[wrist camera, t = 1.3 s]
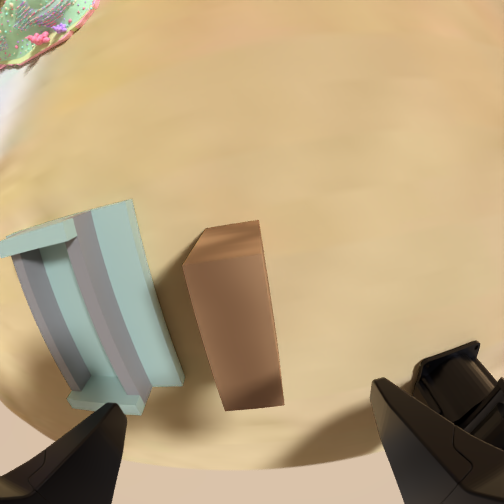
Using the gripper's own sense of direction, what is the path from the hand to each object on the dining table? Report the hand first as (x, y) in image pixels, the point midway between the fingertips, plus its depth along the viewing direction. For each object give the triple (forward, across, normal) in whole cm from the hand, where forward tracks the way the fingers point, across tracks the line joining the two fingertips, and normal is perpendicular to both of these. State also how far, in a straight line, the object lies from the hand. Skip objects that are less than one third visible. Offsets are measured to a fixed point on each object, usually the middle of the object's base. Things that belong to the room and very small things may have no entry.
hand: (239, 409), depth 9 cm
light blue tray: (+9, +11, 0) cm, 15 cm away
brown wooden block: (+10, 0, 0) cm, 10 cm away
